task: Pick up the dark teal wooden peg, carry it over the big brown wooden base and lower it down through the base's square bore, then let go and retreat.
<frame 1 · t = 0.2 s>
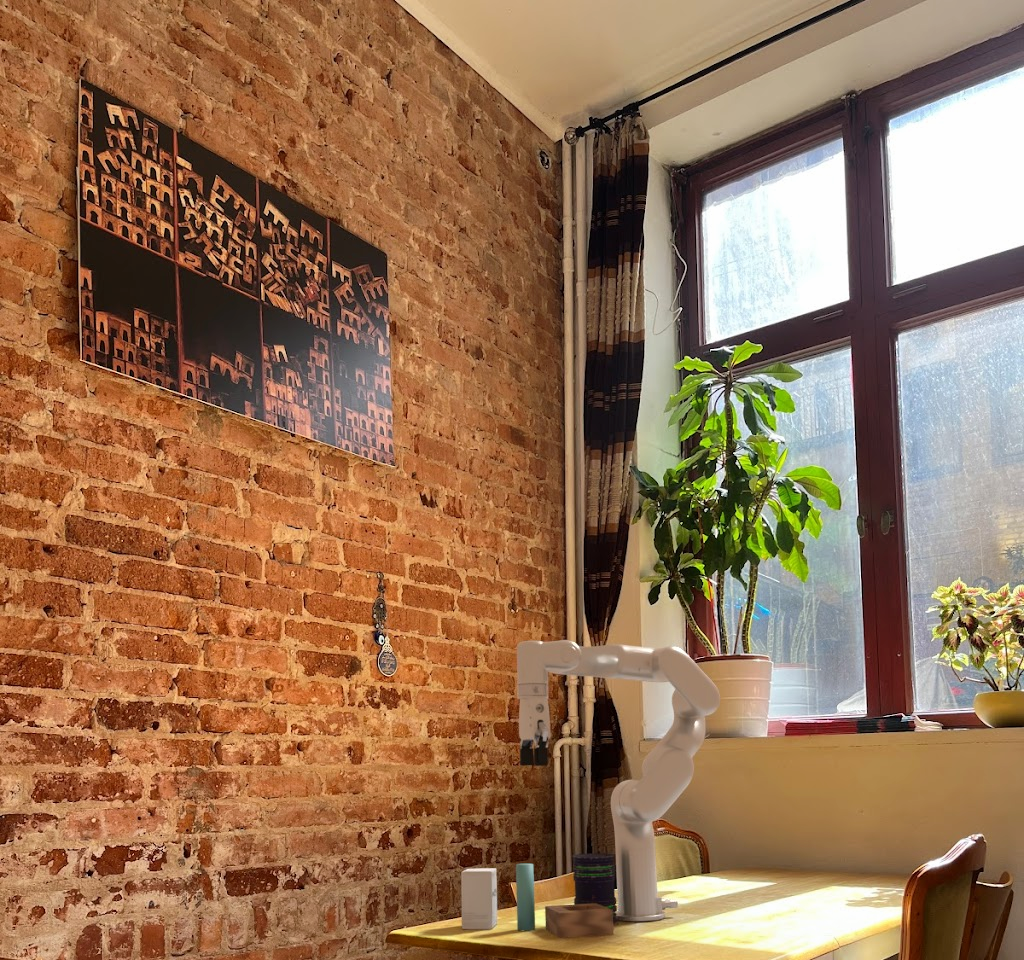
hand: (533, 765, 269), 36 cm above the table, tool pointing down, fingers open, 9 cm apart
teal peg: (526, 929, 254), on the table
storage jar: (596, 924, 261), on the table
supplement box: (479, 928, 260), on the table
brown wooden base: (579, 932, 249), on the table
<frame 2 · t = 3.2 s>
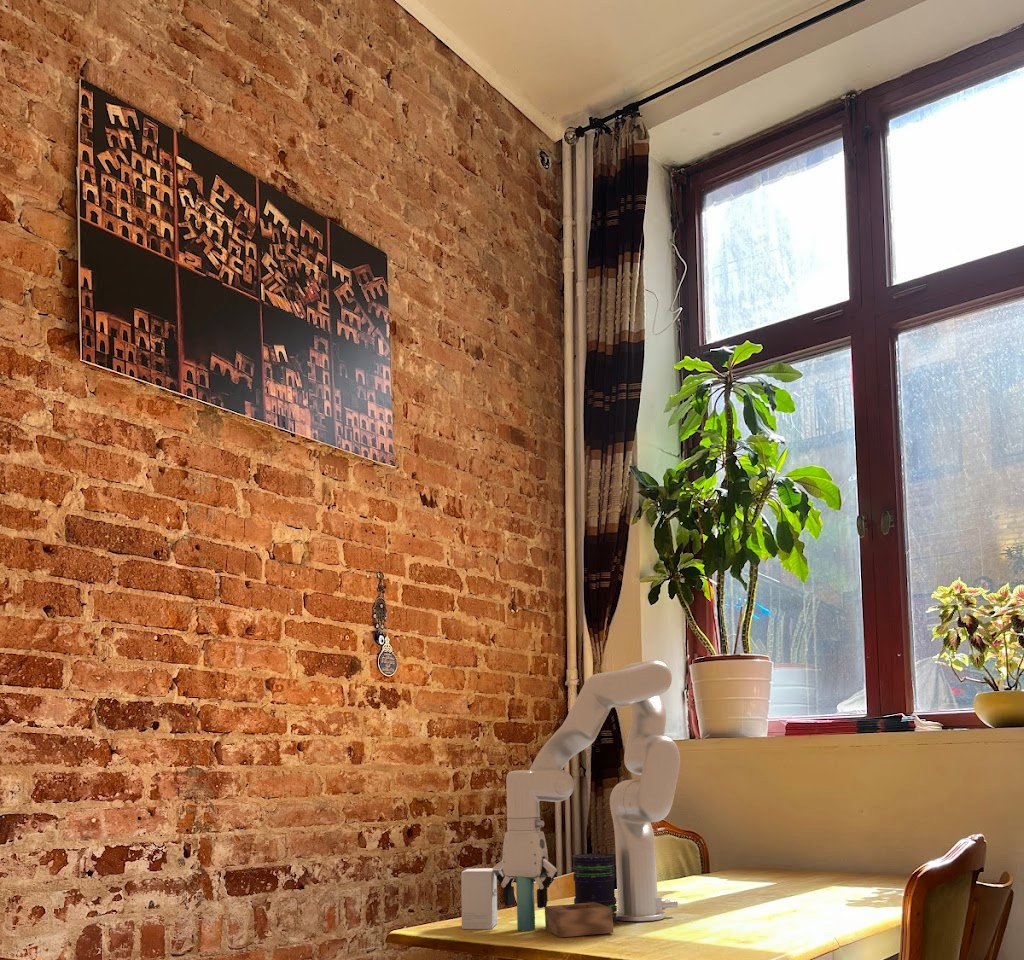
hand: (525, 905, 256), 5 cm above the table, tool pointing down, fingers open, 8 cm apart
brown wooden base: (579, 931, 249), on the table, touching gripper
everything else where it was.
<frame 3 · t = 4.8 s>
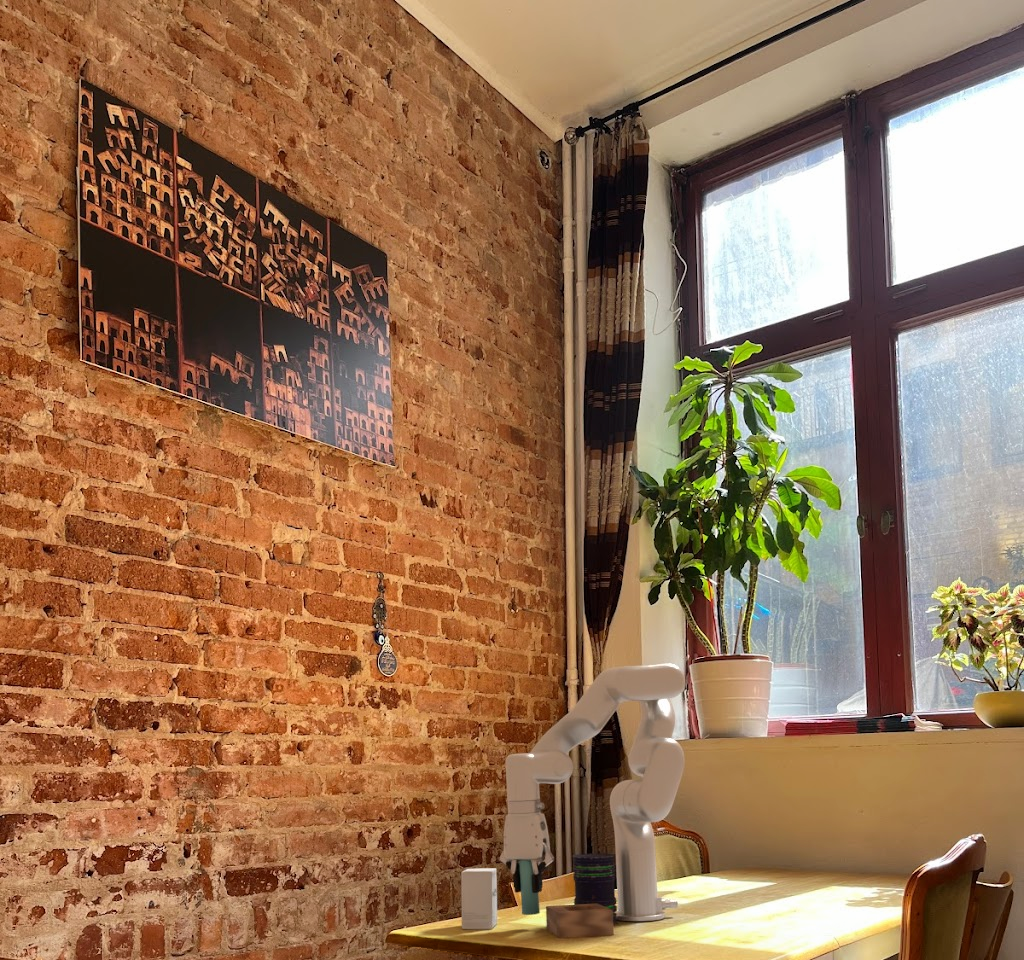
hand: (528, 891, 257), 8 cm above the table, tool pointing down, fingers closed on teal peg, 4 cm apart
teal peg: (530, 913, 256), point 3 cm above the table, touching gripper
brown wooden base: (579, 932, 249), on the table
everything else where it was.
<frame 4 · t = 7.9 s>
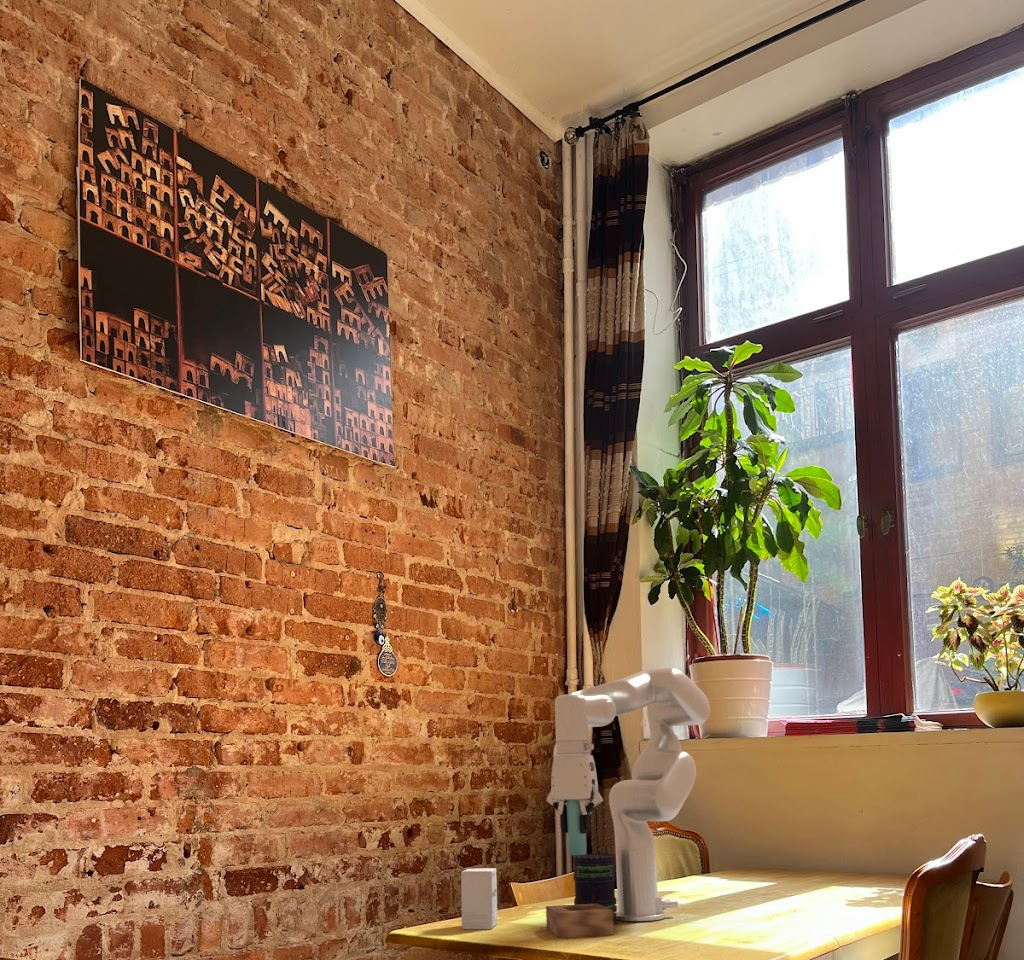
hand: (575, 831, 254), 21 cm above the table, tool pointing down, fingers closed on teal peg, 4 cm apart
teal peg: (577, 854, 253), point 16 cm above the table, touching gripper
everything else where it was.
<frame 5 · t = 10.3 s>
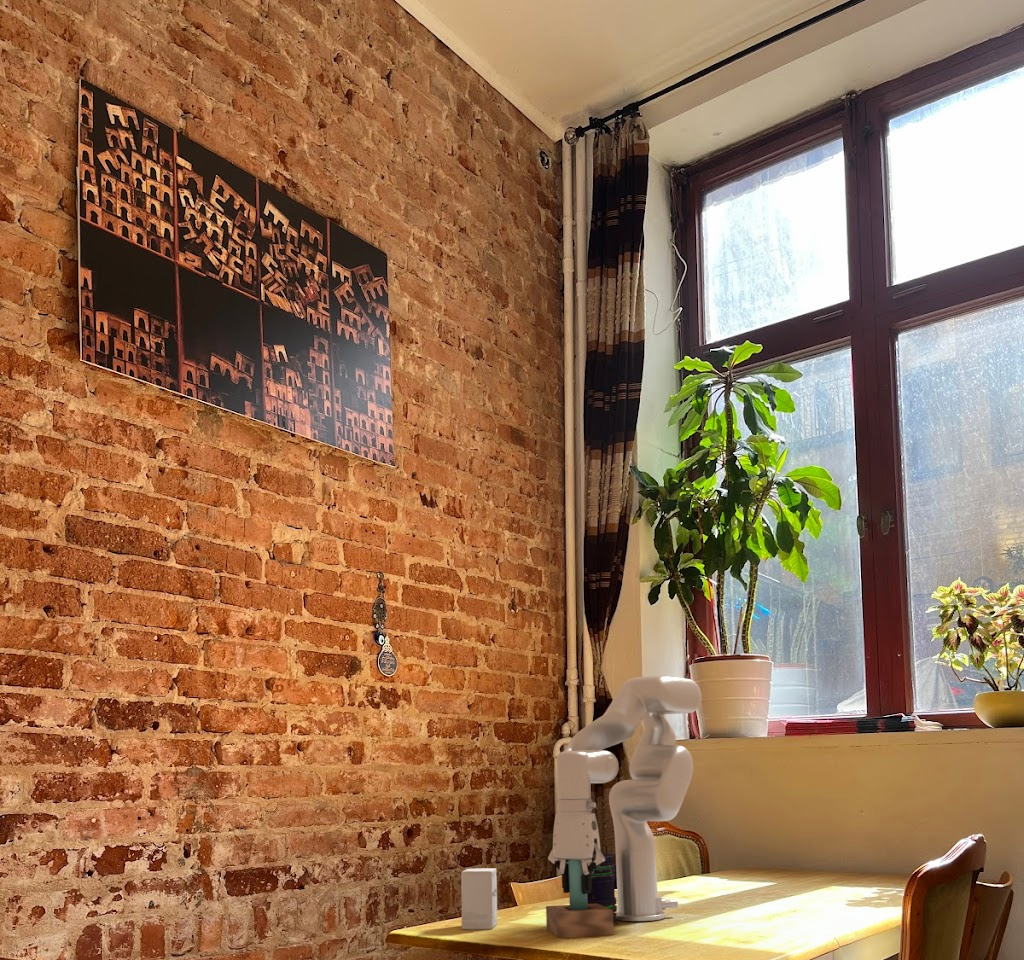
hand: (577, 891, 251), 8 cm above the table, tool pointing down, fingers closed on teal peg, 4 cm apart
teal peg: (579, 914, 250), point 4 cm above the table, touching gripper
everything else where it was.
when the fingers open (6 cm above the table, at t = 12.1 s): teal peg drops 1 cm, resting in brown wooden base.
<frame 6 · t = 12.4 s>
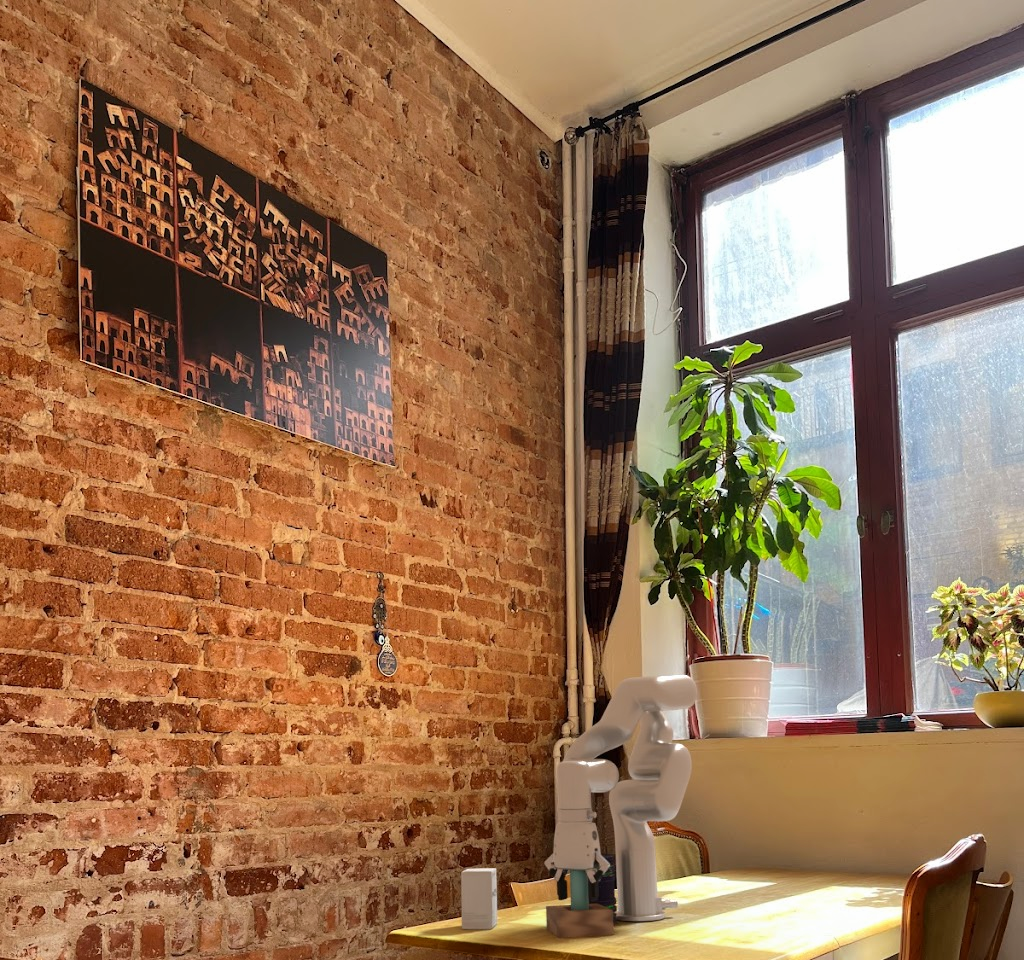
hand: (578, 899, 251), 7 cm above the table, tool pointing down, fingers open, 7 cm apart
teal peg: (580, 931, 250), resting in brown wooden base
everything else where it was.
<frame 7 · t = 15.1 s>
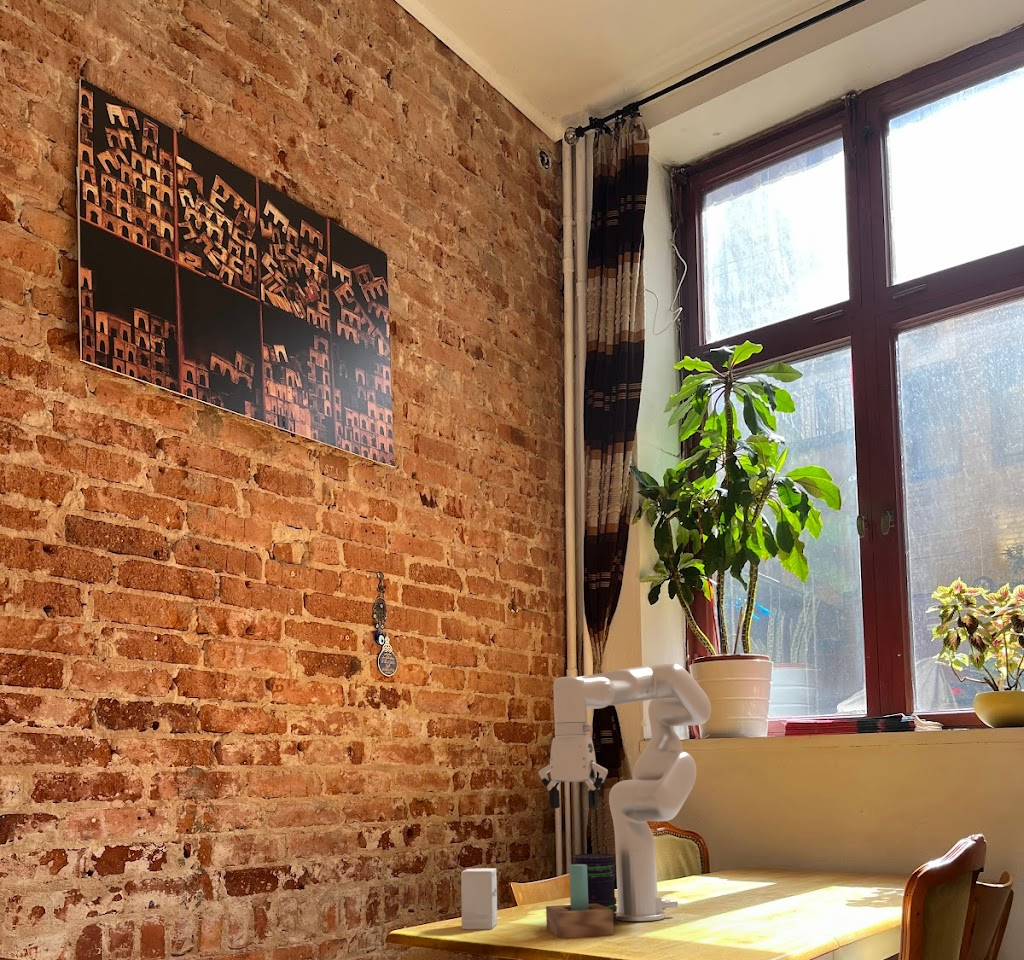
hand: (574, 808, 256), 26 cm above the table, tool pointing down, fingers open, 9 cm apart
nothing on the table moved.
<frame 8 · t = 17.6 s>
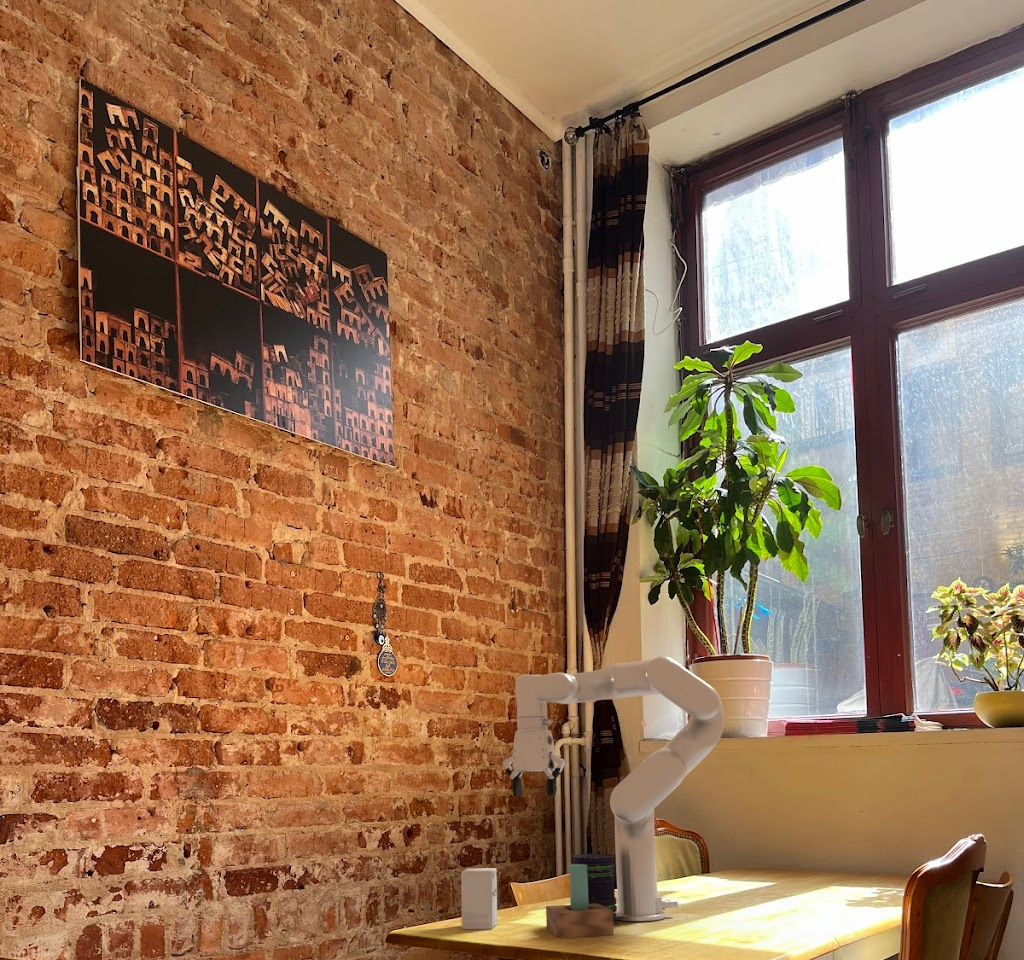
hand: (534, 795, 278), 28 cm above the table, tool pointing down, fingers open, 9 cm apart
nothing on the table moved.
at the end: teal peg 0.7 cm from the brown wooden base (horizontally); teal peg resting in brown wooden base; the gripper is holding nothing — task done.
